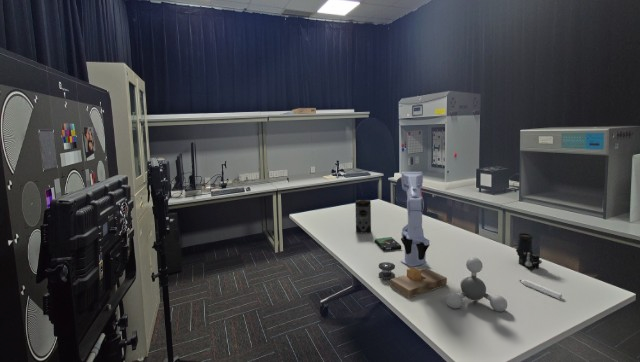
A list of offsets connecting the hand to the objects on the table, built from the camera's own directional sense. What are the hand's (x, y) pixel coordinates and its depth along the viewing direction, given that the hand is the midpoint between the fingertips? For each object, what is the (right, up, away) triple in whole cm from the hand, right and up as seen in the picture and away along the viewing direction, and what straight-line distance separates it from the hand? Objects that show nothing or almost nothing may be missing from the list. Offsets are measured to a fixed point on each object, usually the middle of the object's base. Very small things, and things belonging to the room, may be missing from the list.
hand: (414, 256), depth 140 cm
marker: (+44, -10, -13) cm, 47 cm away
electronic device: (-13, 0, +66) cm, 67 cm away
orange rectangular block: (-2, -10, -4) cm, 11 cm away
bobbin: (-11, -9, +3) cm, 15 cm away
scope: (+53, -6, +9) cm, 55 cm away
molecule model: (+17, -13, -22) cm, 30 cm away
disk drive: (-3, -4, +41) cm, 41 cm away
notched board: (0, -11, -6) cm, 12 cm away
